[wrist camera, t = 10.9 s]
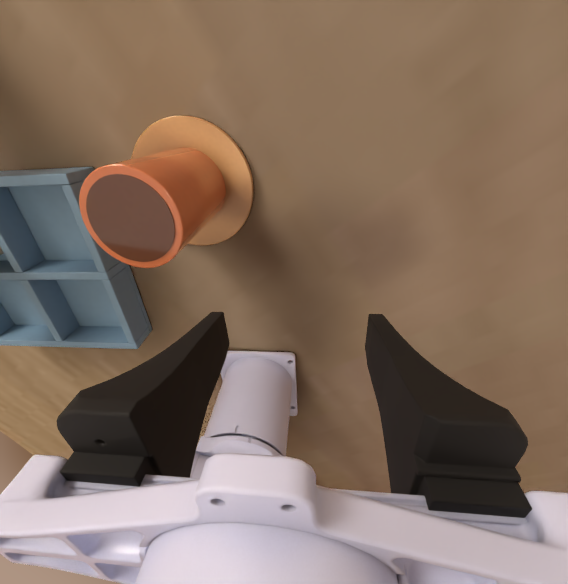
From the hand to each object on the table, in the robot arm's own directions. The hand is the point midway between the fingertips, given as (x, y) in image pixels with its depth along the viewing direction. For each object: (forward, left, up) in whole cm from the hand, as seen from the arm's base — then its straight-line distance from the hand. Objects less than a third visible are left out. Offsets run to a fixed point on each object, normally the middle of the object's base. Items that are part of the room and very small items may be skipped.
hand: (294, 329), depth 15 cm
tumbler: (+5, +8, -10) cm, 14 cm away
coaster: (+5, +8, -10) cm, 14 cm away
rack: (-1, +23, -10) cm, 25 cm away
